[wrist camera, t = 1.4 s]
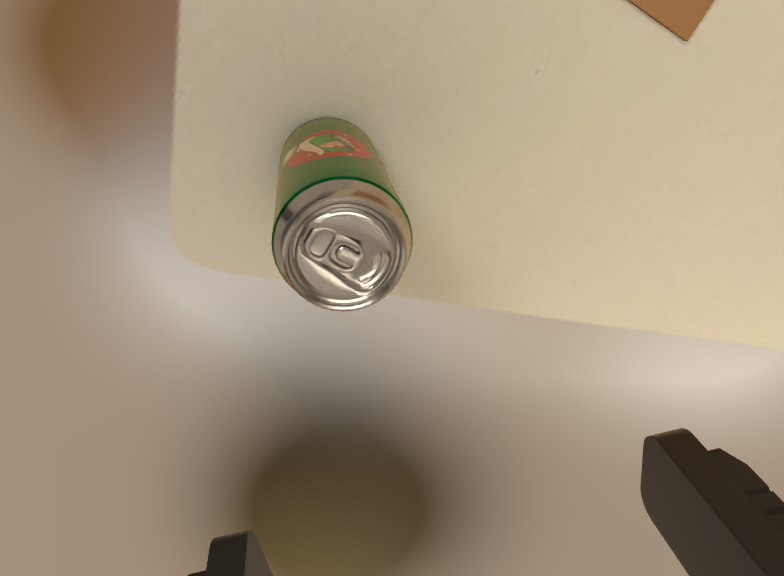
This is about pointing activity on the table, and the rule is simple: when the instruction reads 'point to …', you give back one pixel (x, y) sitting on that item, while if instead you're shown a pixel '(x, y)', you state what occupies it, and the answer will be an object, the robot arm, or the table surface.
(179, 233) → the table surface
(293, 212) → the soda can
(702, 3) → the kraft paper
